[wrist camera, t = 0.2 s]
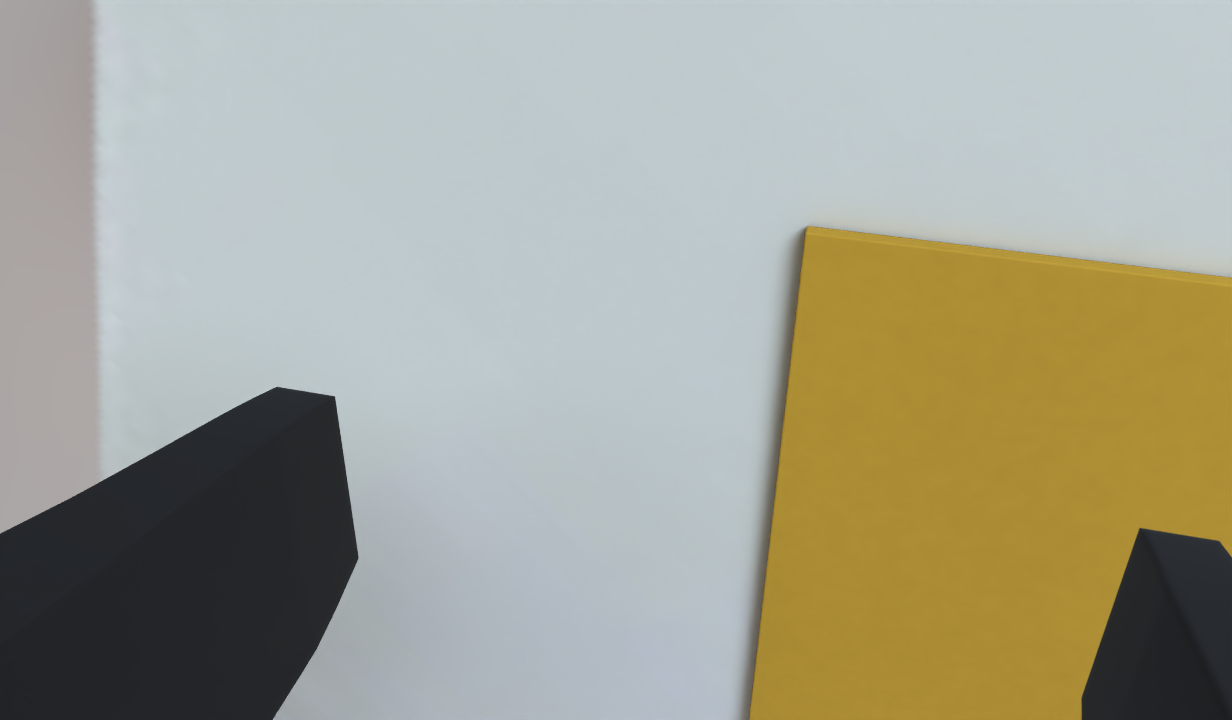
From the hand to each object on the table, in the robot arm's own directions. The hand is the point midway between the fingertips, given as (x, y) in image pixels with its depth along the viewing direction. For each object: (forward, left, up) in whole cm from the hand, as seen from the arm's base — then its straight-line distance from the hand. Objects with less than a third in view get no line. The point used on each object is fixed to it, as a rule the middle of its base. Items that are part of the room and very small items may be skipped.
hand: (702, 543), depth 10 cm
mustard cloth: (-10, -6, -10) cm, 15 cm away
